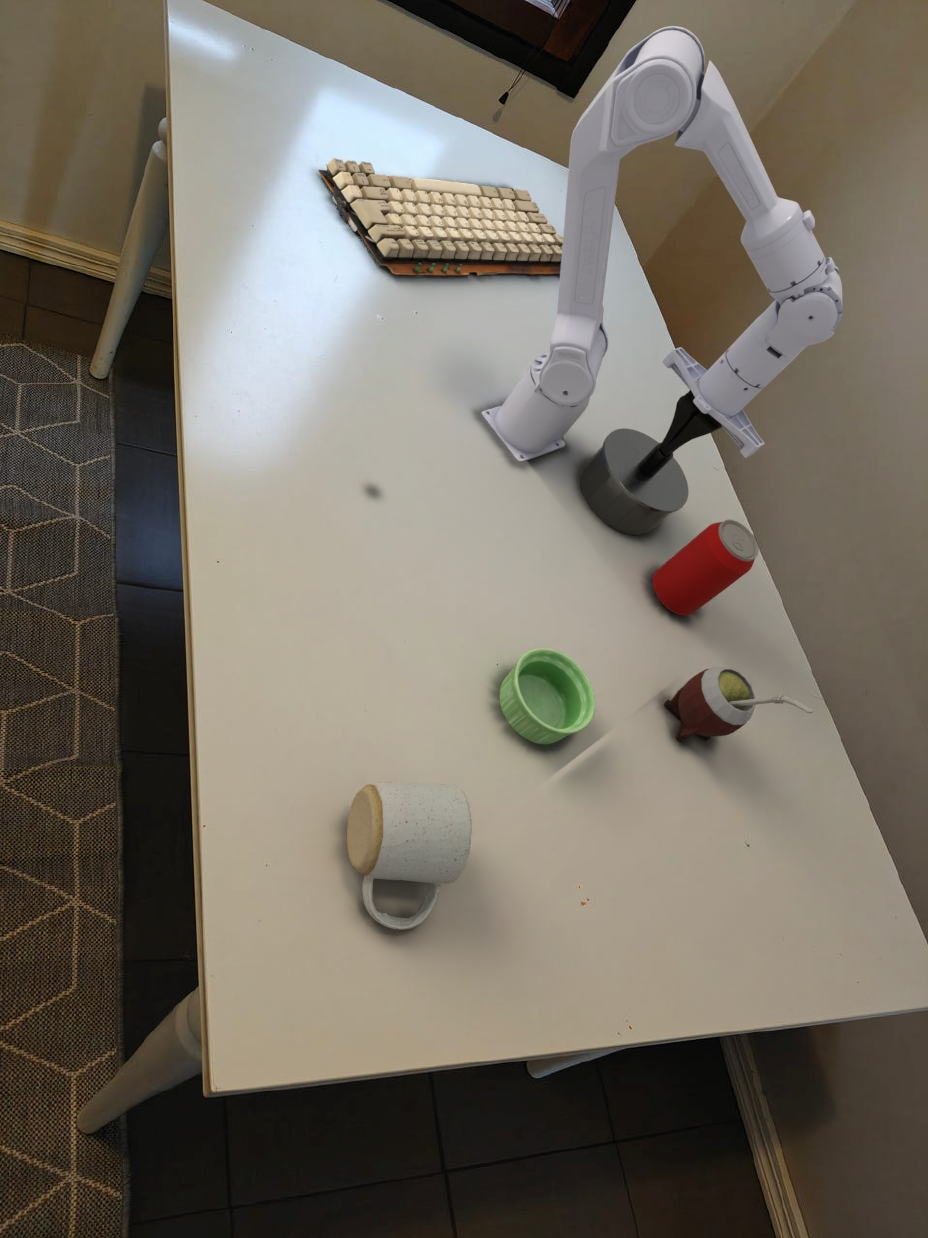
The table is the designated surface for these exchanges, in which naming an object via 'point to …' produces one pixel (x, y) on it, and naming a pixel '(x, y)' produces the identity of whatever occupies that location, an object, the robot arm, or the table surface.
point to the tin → (615, 500)
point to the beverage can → (705, 567)
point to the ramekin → (547, 696)
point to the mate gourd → (717, 703)
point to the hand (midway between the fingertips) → (666, 449)
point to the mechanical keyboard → (443, 224)
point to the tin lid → (645, 471)
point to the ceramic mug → (409, 839)
